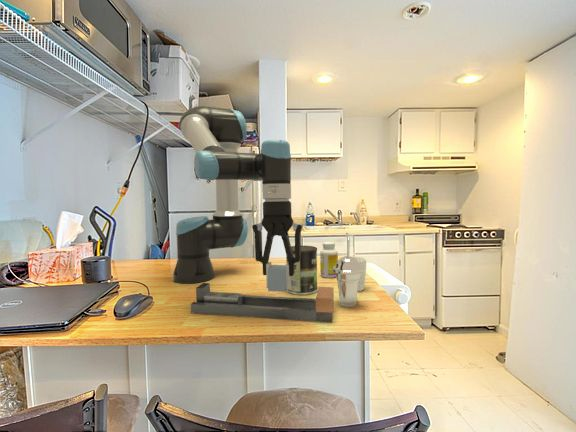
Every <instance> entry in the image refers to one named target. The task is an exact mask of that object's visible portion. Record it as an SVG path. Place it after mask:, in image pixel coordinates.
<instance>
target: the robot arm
mask: <svg viewBox="0 0 576 432" xmlns="http://www.w3.org/2000/svg"><path fill="white" fill-rule="evenodd" d="M247 129H248V128H247V122H246V120H245V117H244V114H243V113H242V112H241V111H239V110H235V109H231V108H221V107H213V106H205V105H198V106H193V107H191V108H189V109H187V110H185V112H184V113H182V115H181V117H180V119H179V130H180V132H181V134H182V136H183V137H184V138H185V139H186V140H188V141H189V144H190V146H191V147H192V150H193V151H194V153H195V155H194V161H193V163H194V167H193V169H194V173H195V176H196V177H197V179H200V180H209V181H215V196H216V197H215V198H216V201H215V202H216V203H215V204H216V210H215V211H214V212H213V213H212V219H209V217H208V216H207V215H203V216H195V217H188V218H184V219H181V220H179V221H178V222H177V223H176V229H175V230H176V231H175V235H176V250H177V251H176V254H177V255H176V256H177V261H176V264H175V268H174V270H173V281H174V282H176V283H178V284H196V283H197V284H198V283H205V282H207V281H210V280H212V279H214V278H215V273H216V272H215V269H214V268H215V267H214V265H213V263H212V261H211V258H210V257H211V256H210V250H217V249H226V248H231V249H232V248H235V247H240V246H242V245H244V243H245V242H246V240H247V237H248V233H249V232H248V231H249V229H248V228H249V227H248V221H247V220H246V218H245V217H244V216H243V213H242V212H241V211H240V209H239V181H242V180H243V181H254V182H255V181H259V182H261V183H262V184H261V185H262V189H261V191H262V199H263V200H264V201H263V202H262V220H261V222H258V223H255V224H253V225H251V227H252V228H251V229H252V230H253V234H254V252H255V253H254V254H255V256H254V258H255V261H256V262H260V263H261V264H262V275H263V276H266V289H268V268H269V267H270V266H271V265H272V262H271V261H269V260H270V255H271V249H272V247H273V246H272V245H273V241H274V238H275V236H278V237H281V240H282V243H283V247H284V251H285V254H286V255H287V259H288V263H287V264H285V265H286V289H289V288H290V287H291V276H293V275H294V263H296V262H299V261H300V259H301V246H302V239H301V238H302V234H301V233H302V229H303V227H304V225H303V224H302V223H297V222H295V221H294V219H293V218H292V217H293V216H292V202H291V199H292V184H291V183H292V179H291V178H292V177H291V174H292V172H291V170H292V169H291V167H292V166H291V165H292V163H291V158H292V154H291V148H290V147H291V146H290V142H288V141H287V140H284V139H267V140H264V141H262V143H261V146H260V147H261V149H260V153H251V152H238V149H239V148H240V147H241V146H242V143H243V142H244V141H245V140H246V137H247V134H248V133H247ZM292 227H293V228H292ZM291 228H292V229H293V231H294V246H295V257H294V256H293V253H292V249H291V246H292V245H291V242H290V236H289V235H290V234H289V231H290V229H291ZM263 229H264V230H265V231H266V232H267V234H266V240H265V245H264V251H263V239H262V237H263V236H262V235H263V234H262V230H263Z"/></svg>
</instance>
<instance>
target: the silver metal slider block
mask: <svg viewBox="0 0 576 432" xmlns="http://www.w3.org/2000/svg"><path fill="white" fill-rule="evenodd" d="M242 295H243V293H240V292H239V293H238V292H219V291H218V292H217V291H211V283H210V282H208V283H207V282H202V283H200V285H198V286H197V287H195V296H196V297H195V298H196V301H195V302H201V303H217V304H234V305H243V301H242Z"/></svg>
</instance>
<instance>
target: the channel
mask: <svg viewBox="0 0 576 432" xmlns="http://www.w3.org/2000/svg"><path fill="white" fill-rule="evenodd" d="M334 293H335V292H334V286H332V287H331V286H318V288H317V292H316V296H315V298H307V297H306V298H305V297H290V296H270V295H269V296H267V295H254V294H253V295H250V294H249V295H248V294H242V301H243V305H234V304H217V303H201V302H197V301H193V302H191V303H190V314H199V315H201V314H202V315H214V316H215V315H216V316H230V317H243V318H244V317H245V318H260V319H276V320H290V321H302V322H303V321H305V322H316V323H317V322H320V323H322V322H323V323H333V319H334V317H333V316H334V309H335V308H334V306H335V305H334V304H335V303H334V301H335V300H334V298H335V295H334Z"/></svg>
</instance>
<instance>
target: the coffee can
mask: <svg viewBox="0 0 576 432" xmlns="http://www.w3.org/2000/svg"><path fill="white" fill-rule="evenodd" d="M291 249H292V253H293V256H294V257H295V245H291ZM285 257H286V264H287V263H288V259H287V255H286V256H285ZM286 264H285V265H286ZM286 292H287V293H288V294H292V295H297V296H305V295H307V296H308V295H313V294H315V293H317V292H318V248H317V247H316V246H314V245H313V246H312V245H301V259H300V261H299V262H296V263H294V275H293V276H291V287H290V288H289V289H287V290H286Z"/></svg>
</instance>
